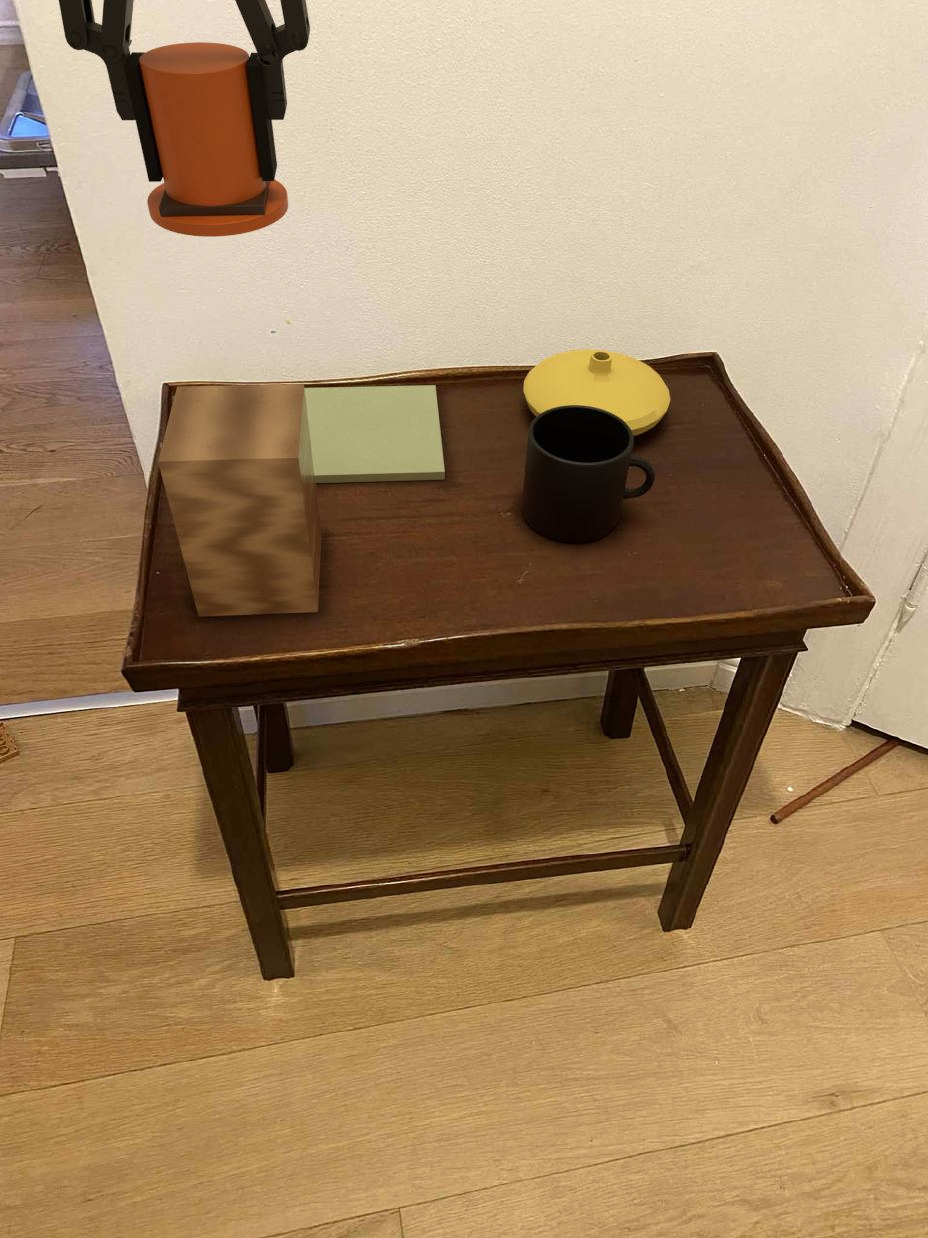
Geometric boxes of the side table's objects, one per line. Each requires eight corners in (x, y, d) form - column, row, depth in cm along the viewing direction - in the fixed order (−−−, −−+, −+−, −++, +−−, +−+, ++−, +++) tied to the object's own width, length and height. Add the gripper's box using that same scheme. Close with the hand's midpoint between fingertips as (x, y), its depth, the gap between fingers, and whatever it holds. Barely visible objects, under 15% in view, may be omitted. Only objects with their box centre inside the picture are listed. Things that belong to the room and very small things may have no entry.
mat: (262, 484, 90) (260, 476, 89) (272, 396, 101) (271, 388, 100) (444, 479, 91) (444, 471, 90) (435, 392, 102) (435, 384, 101)
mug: (647, 551, 84) (665, 471, 78) (518, 539, 85) (525, 459, 78) (644, 489, 91) (661, 411, 84) (524, 478, 91) (531, 400, 85)
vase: (679, 455, 95) (693, 396, 90) (529, 457, 94) (534, 398, 89) (649, 375, 106) (660, 318, 101) (514, 376, 105) (518, 319, 100)
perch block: (198, 617, 77) (157, 461, 65) (211, 539, 84) (177, 386, 72) (318, 612, 78) (298, 457, 66) (321, 535, 85) (304, 383, 73)
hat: (140, 238, 57) (102, 80, 51) (159, 182, 63) (129, 36, 57) (285, 235, 58) (267, 79, 51) (291, 181, 64) (275, 36, 58)
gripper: (-120, -357, 39) (46, 197, 56) (334, -343, 40) (364, 195, 57) (-62, -352, 44) (74, 152, 61) (338, -340, 46) (365, 151, 62)
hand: (214, 172), depth 59 cm, fingers closed on hat, 6 cm apart
